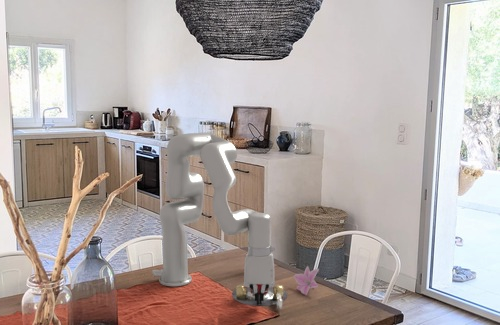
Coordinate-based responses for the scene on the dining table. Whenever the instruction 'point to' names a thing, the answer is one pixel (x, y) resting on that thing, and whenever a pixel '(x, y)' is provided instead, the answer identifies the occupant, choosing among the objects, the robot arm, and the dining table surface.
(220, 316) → the dining table surface
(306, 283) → the lily
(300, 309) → the dining table surface
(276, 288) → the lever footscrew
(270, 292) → the plate
